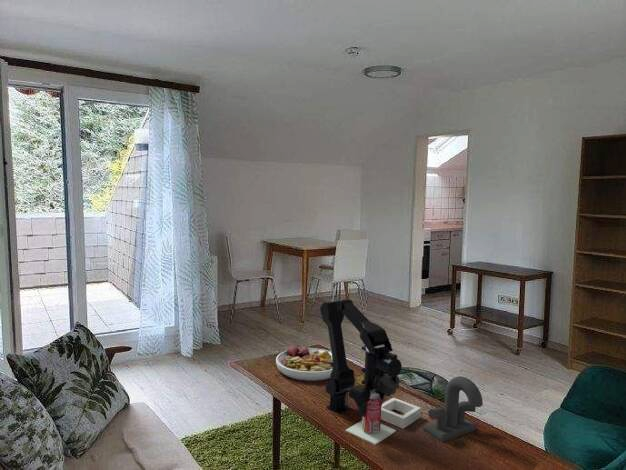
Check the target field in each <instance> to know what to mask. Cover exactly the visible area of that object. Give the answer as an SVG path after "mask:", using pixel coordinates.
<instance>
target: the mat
mask: <svg viewBox="0 0 626 470" xmlns="http://www.w3.org/2000/svg"><path fill="white" fill-rule="evenodd" d="M345 432H347V433H348V434H352V435H353V436H355V437H358V438H360V439H361V440H363V441H366V442H368V443H370V444H372V445H374V446H376V445H377V444H380V442H382V441H383V440H386V438H388V437H390V436H391V435H393V434H394V433H396V432H397V430H396V429H394V428H392V427H389V426H388V425H385V424H383V423H381V426H380V431H378V432H376V433H367V432H366V431H364V430H363V429H362V420H360V421H359V422H357V423H355V424H353V425H351V426H350V427H348V428H346V429H345Z"/></svg>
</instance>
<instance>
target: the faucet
mask: <svg viewBox="0 0 626 470" xmlns="http://www.w3.org/2000/svg"><path fill="white" fill-rule="evenodd" d="M460 391H462V392H463V393H464V394H465V396H466V397H467V400H464V401H463V400H462V401H460ZM483 403H484V401H483V397H482V393H481V391H480V390H479V387H478V386H477V385H476V383H474V381H472V379H469V378H468V377H465V376H455V377H452V378H451V379H449V381H448V382H447V384H446V387H445V397H444V408H443V407H434V408H430V409H429V410H428V416H429V418H430V420H432V421H434V420H436V422H434V423H431V424H429V425H425V426H423V427H422V431H423V432H424V433H426V434H428V435H429V436H431V437H432V438H434V439H435V440H437V441H439V442H441V443H444V442H447V441H449V440H453V439H455V438H457V437H460V436H463V435H465V434H468V433H470V432H474V431H477V430H478V425H477V424H475V423H473V422H472V421H470V420H468V419H466V418H465V415H466V412H471V413H475V412H476V408H481V407H482V406H483Z"/></svg>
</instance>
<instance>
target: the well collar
mask: <svg viewBox="0 0 626 470" xmlns="http://www.w3.org/2000/svg"><path fill="white" fill-rule="evenodd" d="M393 410H394V411H398V412H399V413H403V414H402V415H401V414H398V413H396V412H394V411H393ZM421 410H422V407H419V406H417V405H415V404H413V403H412V404H411V403H409V402H406V401H404V400H402V399H401V400H400V399H398V398H395V397H392V398H390V399H388V400H386V401H385V402H384V401H383V404H382V407H381V421H384V422H386V423H387V424H388V423H389V424H391V425H393V426H396V427H399V428H400V429H405V428H406V427H408V426H410V425H411V424H413V423H414V422H415V421H417V420H419V419H420V418H421Z"/></svg>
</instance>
